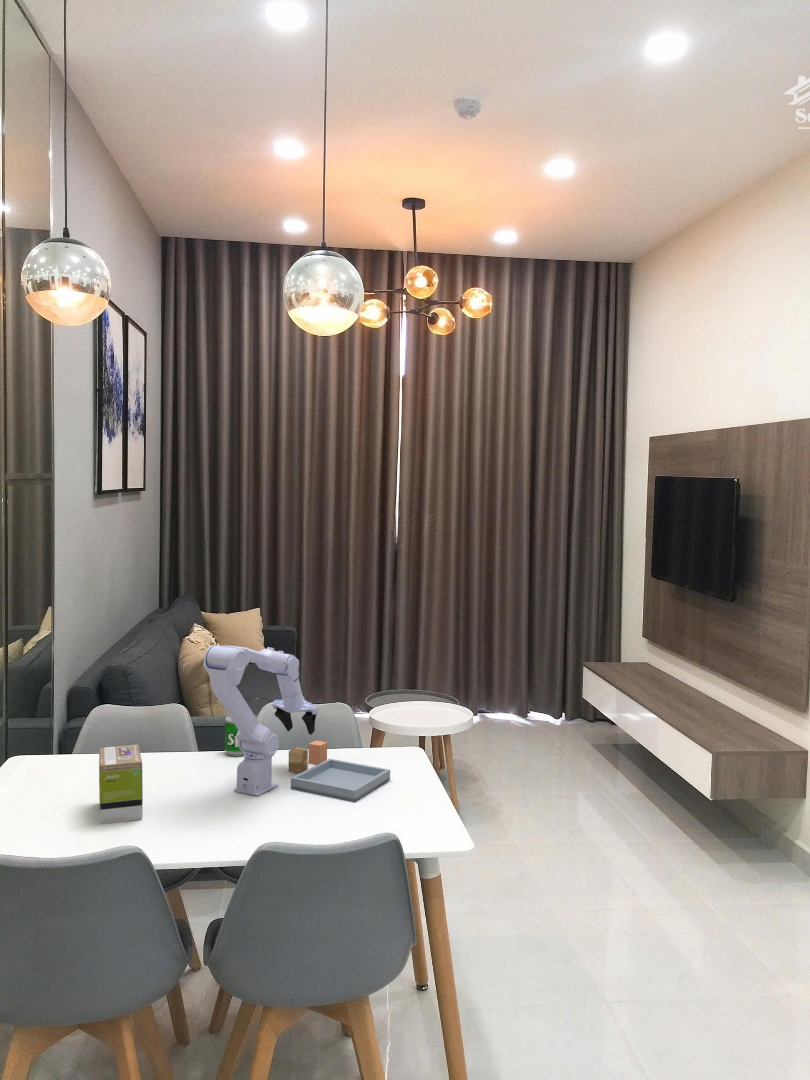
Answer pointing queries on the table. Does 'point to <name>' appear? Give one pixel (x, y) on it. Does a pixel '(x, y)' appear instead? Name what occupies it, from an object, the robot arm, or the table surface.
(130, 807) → the tea box
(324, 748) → the terracotta block
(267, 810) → the table surface
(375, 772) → the slate tray
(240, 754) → the soda can
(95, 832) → the table surface
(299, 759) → the bronze block
